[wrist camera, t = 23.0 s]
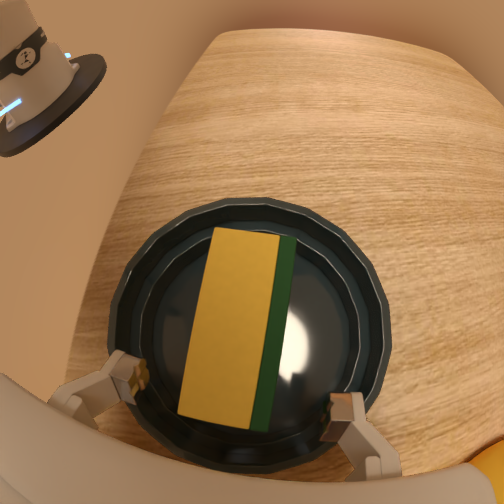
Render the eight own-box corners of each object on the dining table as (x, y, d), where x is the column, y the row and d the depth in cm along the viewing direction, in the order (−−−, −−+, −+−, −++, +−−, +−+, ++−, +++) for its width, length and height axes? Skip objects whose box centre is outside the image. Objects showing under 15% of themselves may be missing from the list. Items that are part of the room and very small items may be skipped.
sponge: (210, 394, 18) (176, 414, 10) (232, 274, 21) (214, 226, 14) (267, 403, 18) (267, 432, 10) (286, 281, 21) (297, 236, 13)
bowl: (103, 351, 20) (67, 346, 15) (229, 195, 24) (221, 158, 20) (274, 485, 15) (276, 516, 11) (400, 306, 20) (432, 291, 15)
